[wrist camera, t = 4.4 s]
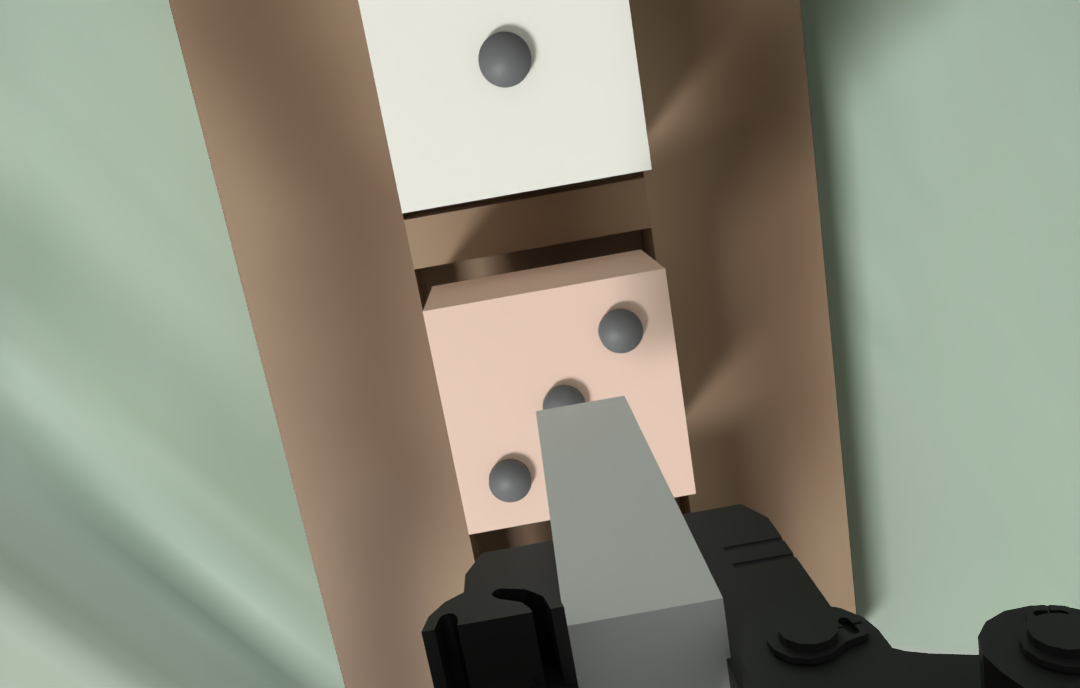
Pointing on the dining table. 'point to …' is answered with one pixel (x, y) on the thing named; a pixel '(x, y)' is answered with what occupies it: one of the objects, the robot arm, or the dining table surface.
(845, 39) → the dining table surface
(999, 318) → the dining table surface
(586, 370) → the tile three
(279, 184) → the board
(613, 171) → the tile one
